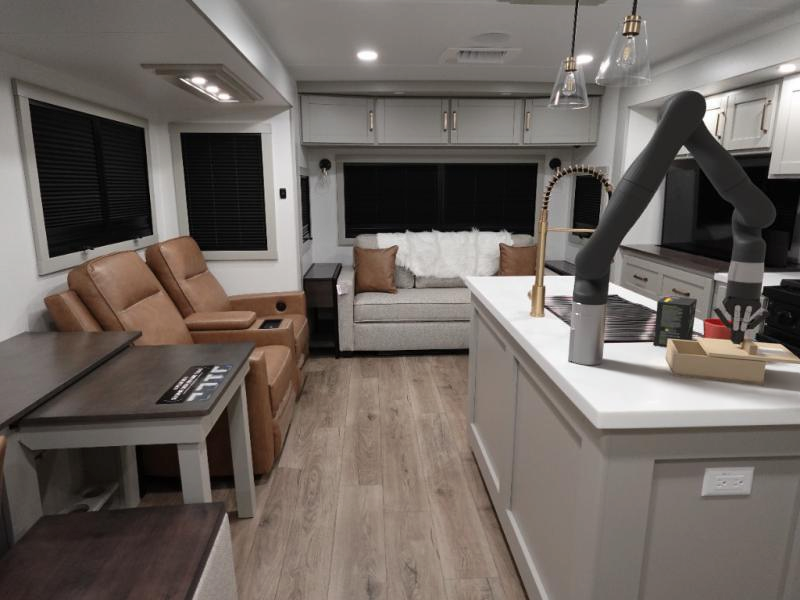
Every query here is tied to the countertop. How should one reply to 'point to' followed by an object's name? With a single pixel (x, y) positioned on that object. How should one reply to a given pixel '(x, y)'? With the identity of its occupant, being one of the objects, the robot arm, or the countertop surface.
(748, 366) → the box
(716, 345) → the lid
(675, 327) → the tampon box
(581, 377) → the countertop surface
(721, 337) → the flower pot
